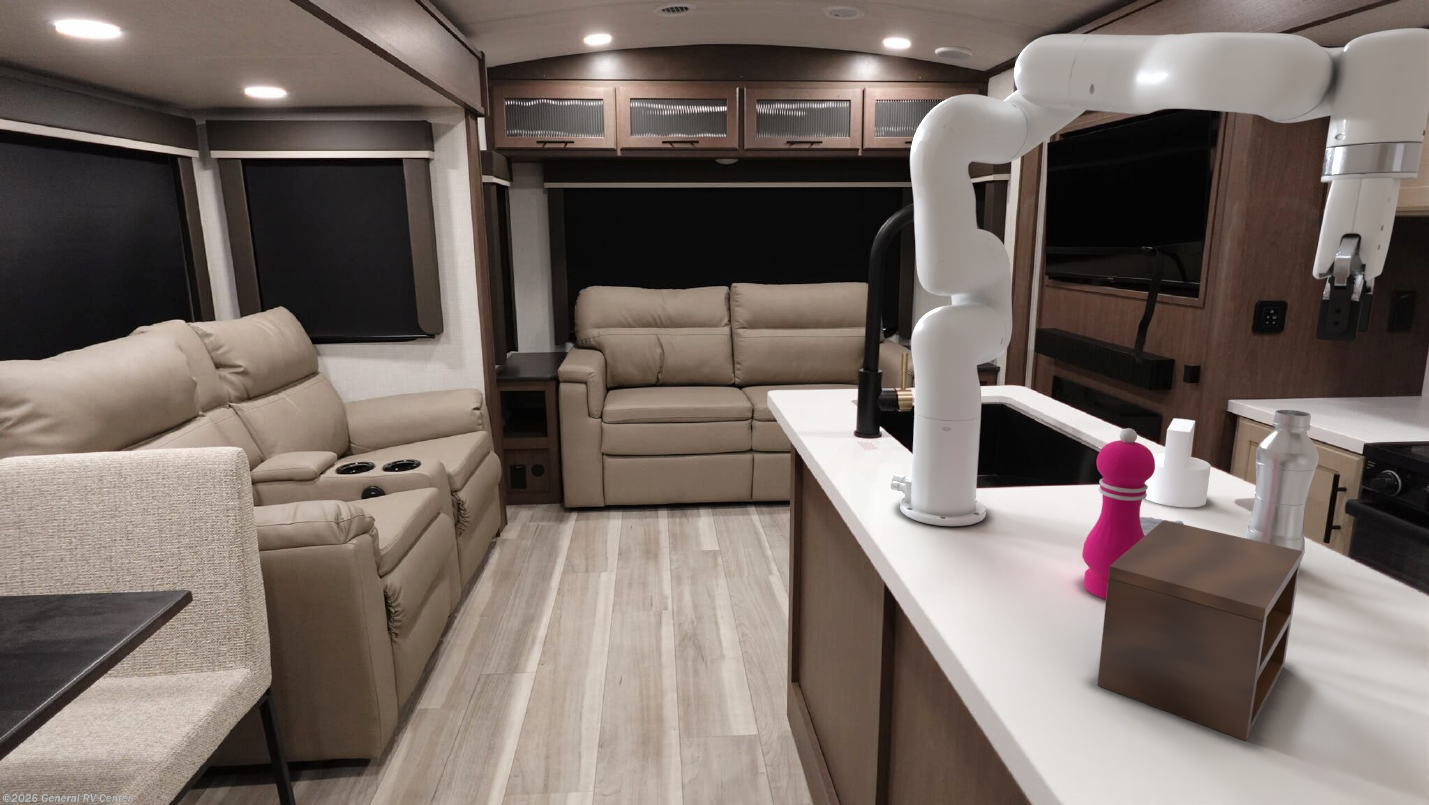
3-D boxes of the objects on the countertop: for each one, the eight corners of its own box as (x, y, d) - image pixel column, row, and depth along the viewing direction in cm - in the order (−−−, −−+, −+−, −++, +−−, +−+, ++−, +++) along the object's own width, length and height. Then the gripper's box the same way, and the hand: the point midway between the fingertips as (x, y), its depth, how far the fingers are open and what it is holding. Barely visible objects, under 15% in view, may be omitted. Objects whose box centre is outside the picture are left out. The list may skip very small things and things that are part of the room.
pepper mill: (1144, 609, 89) (1163, 439, 84) (1075, 595, 92) (1090, 431, 88) (1148, 585, 95) (1167, 425, 90) (1083, 572, 98) (1098, 418, 94)
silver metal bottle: (1235, 566, 99) (1256, 414, 95) (1245, 550, 104) (1266, 404, 100) (1297, 581, 95) (1322, 422, 91) (1305, 564, 100) (1329, 412, 96)
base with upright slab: (1145, 485, 131) (1153, 415, 128) (1208, 495, 126) (1217, 422, 123) (1137, 500, 124) (1144, 427, 121) (1203, 511, 119) (1213, 435, 116)
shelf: (1097, 685, 74) (1109, 566, 72) (1151, 625, 85) (1163, 519, 83) (1245, 741, 66) (1265, 608, 63) (1284, 666, 77) (1302, 550, 74)
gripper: (1336, 171, 87) (1312, 324, 91) (1308, 163, 75) (1282, 340, 79) (1426, 167, 82) (1397, 330, 85) (1411, 158, 70) (1379, 348, 73)
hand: (1342, 335), depth 82 cm, fingers open, 9 cm apart
